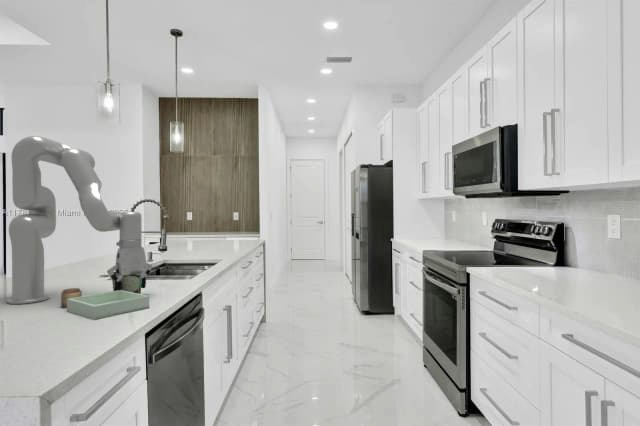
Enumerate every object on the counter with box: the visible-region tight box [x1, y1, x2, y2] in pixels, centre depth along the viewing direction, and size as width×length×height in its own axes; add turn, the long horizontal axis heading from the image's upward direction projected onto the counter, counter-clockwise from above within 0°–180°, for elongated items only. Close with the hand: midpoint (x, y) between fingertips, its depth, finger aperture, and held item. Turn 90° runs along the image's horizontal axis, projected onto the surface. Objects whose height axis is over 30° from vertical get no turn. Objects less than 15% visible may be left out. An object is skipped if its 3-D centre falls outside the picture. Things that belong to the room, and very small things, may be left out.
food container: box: [111, 271, 144, 294], centre depth 151 cm, size 12×6×10 cm, turn 84°
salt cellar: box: [60, 287, 83, 309], centre depth 137 cm, size 6×6×6 cm
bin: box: [66, 290, 150, 321], centre depth 133 cm, size 18×18×4 cm
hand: (130, 289), depth 151 cm, fingers open, 9 cm apart
